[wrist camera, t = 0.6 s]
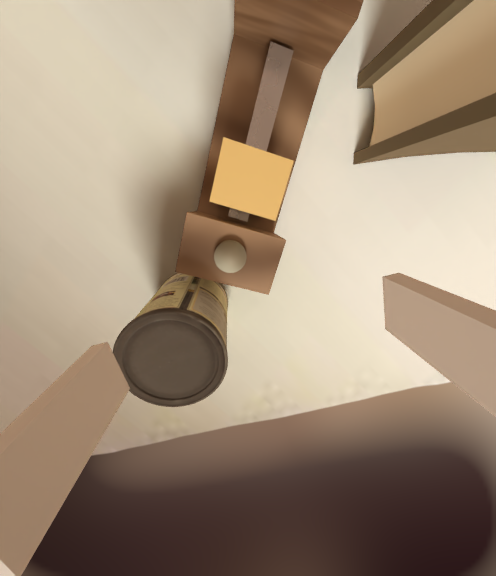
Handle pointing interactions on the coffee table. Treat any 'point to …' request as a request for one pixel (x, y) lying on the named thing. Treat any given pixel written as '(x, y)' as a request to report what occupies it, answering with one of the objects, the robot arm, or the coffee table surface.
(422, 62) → the book
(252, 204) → the carriage
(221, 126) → the wooden base
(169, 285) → the coffee can
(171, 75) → the coffee table surface
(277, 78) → the bar
